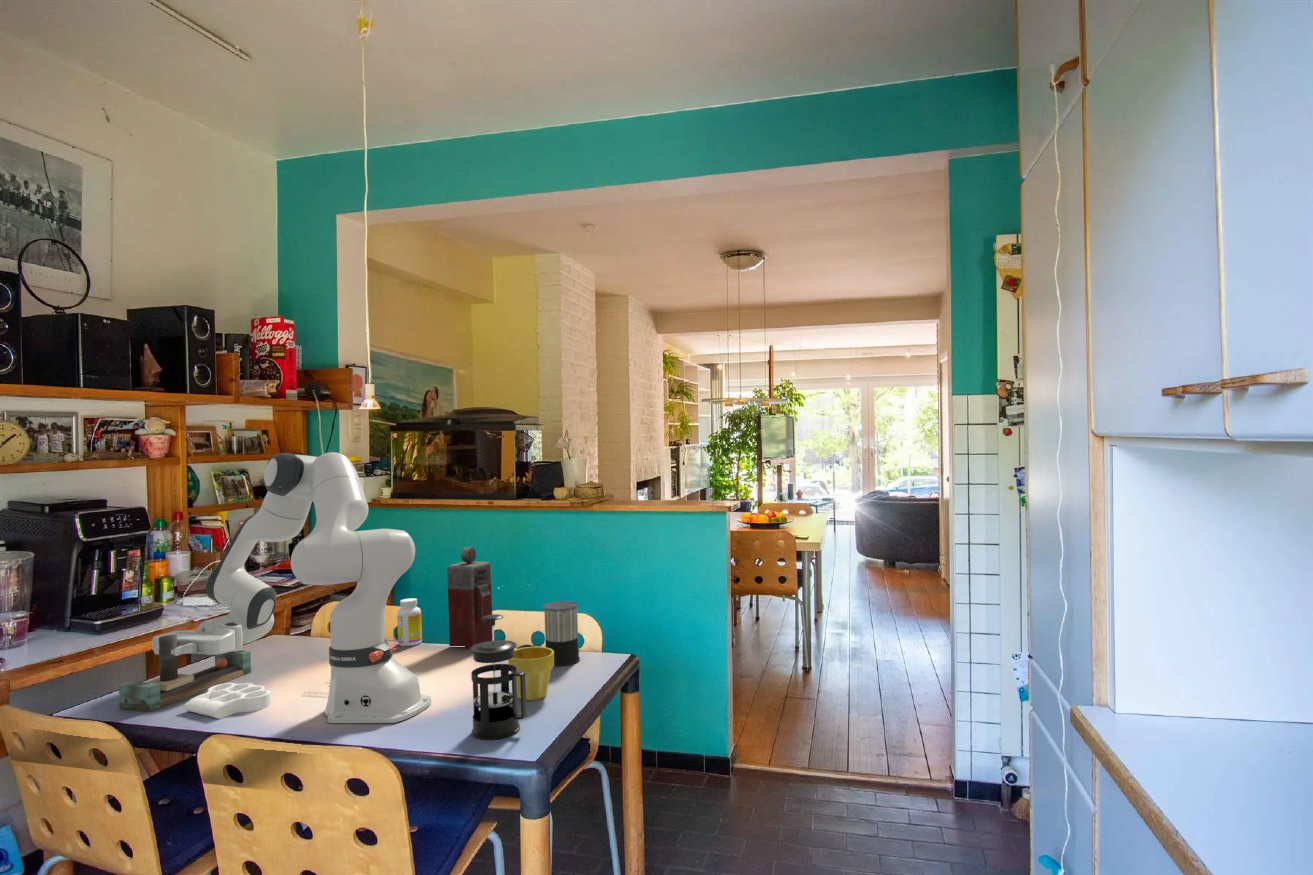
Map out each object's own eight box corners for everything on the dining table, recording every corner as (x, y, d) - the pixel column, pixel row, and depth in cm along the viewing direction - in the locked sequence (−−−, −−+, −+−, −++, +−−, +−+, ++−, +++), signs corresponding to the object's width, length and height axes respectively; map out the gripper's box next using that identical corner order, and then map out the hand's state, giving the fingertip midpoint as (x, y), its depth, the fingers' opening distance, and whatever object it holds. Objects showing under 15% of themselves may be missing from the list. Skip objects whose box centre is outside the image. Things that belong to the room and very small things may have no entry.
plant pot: (564, 694, 164) (563, 651, 164) (526, 707, 157) (524, 662, 157) (538, 684, 172) (536, 643, 172) (500, 696, 164) (499, 653, 164)
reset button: (227, 667, 186) (227, 657, 186) (224, 668, 185) (224, 658, 185) (219, 667, 186) (219, 657, 186) (216, 668, 185) (216, 658, 185)
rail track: (251, 672, 189) (250, 651, 189) (150, 711, 162) (149, 687, 162) (223, 670, 191) (222, 649, 191) (119, 709, 164) (118, 684, 164)
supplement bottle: (425, 640, 215) (424, 597, 215) (416, 646, 208) (414, 602, 208) (404, 640, 215) (402, 597, 215) (394, 646, 209) (392, 602, 209)
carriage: (193, 681, 174) (192, 633, 174) (167, 691, 167) (165, 641, 167) (171, 679, 176) (169, 632, 176) (143, 689, 169) (142, 640, 169)
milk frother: (586, 661, 188) (584, 605, 188) (530, 674, 180) (528, 614, 180) (562, 649, 200) (560, 596, 200) (508, 660, 192) (506, 604, 192)
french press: (459, 737, 141) (456, 620, 142) (483, 719, 151) (480, 609, 151) (514, 742, 138) (510, 622, 139) (535, 723, 147) (531, 610, 148)
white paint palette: (175, 712, 162) (239, 691, 175) (224, 724, 154) (287, 701, 167) (175, 697, 162) (239, 677, 175) (223, 708, 154) (287, 687, 167)
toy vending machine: (481, 650, 202) (478, 550, 202) (448, 647, 206) (445, 549, 207) (500, 642, 210) (497, 545, 210) (468, 639, 215) (465, 544, 215)
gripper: (182, 622, 187) (130, 636, 173) (246, 625, 181) (198, 640, 168) (182, 646, 187) (131, 662, 173) (247, 650, 181) (199, 667, 168)
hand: (164, 651), depth 171 cm, fingers closed on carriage, 3 cm apart
